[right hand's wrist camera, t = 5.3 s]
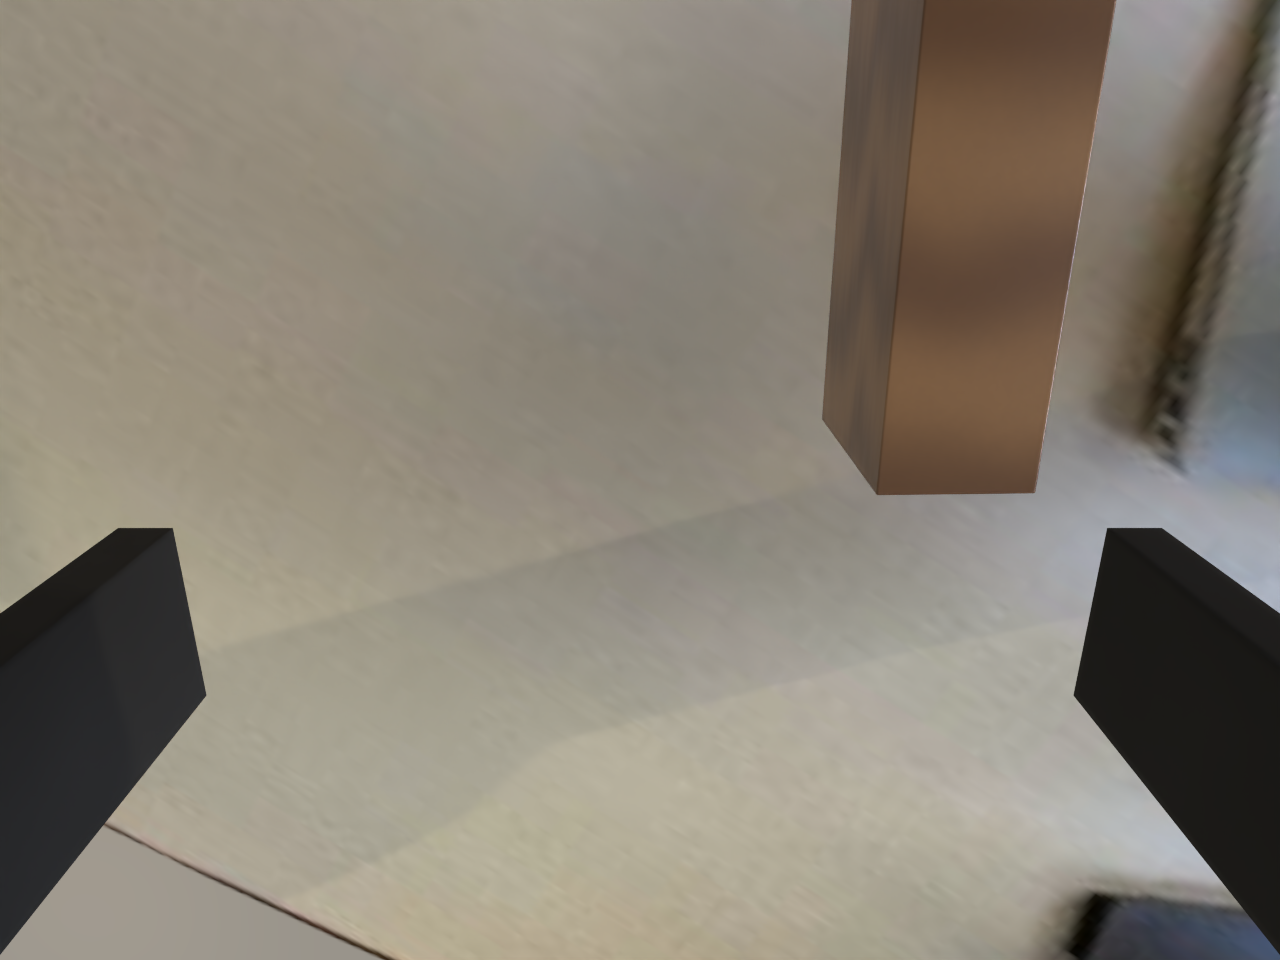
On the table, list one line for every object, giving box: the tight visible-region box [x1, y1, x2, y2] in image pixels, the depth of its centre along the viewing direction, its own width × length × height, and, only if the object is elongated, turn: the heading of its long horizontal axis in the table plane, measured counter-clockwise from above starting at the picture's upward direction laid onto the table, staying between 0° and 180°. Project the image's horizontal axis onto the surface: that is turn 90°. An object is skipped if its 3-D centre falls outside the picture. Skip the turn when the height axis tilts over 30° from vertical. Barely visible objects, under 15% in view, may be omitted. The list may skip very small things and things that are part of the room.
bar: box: [822, 0, 1116, 495], centre depth 26 cm, size 25×5×8 cm, turn 0°
